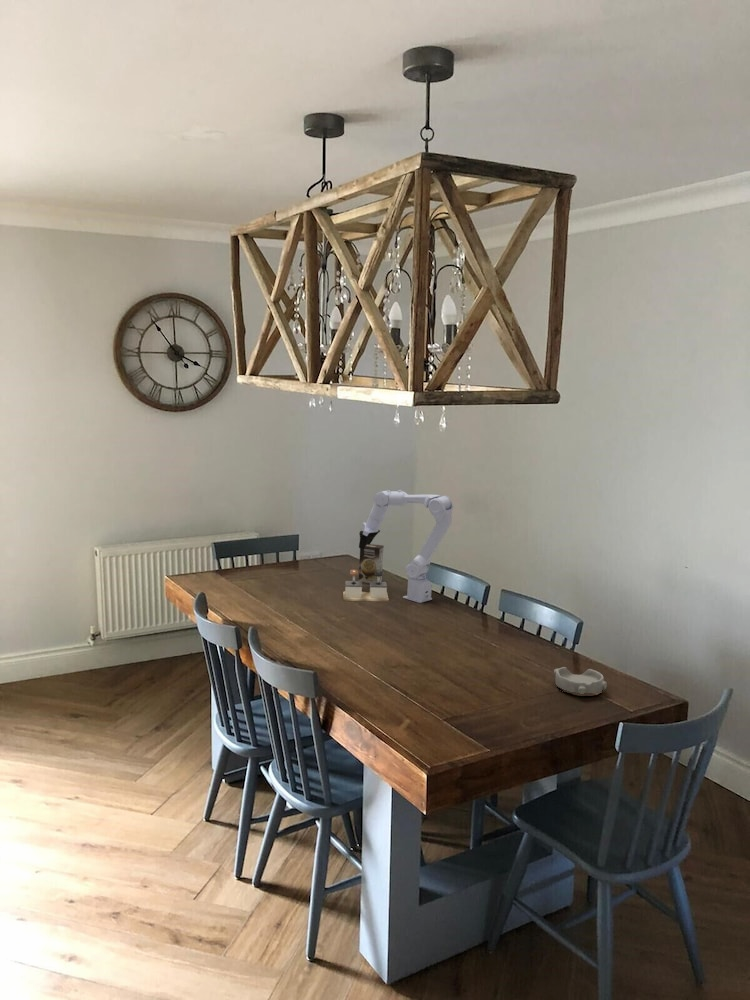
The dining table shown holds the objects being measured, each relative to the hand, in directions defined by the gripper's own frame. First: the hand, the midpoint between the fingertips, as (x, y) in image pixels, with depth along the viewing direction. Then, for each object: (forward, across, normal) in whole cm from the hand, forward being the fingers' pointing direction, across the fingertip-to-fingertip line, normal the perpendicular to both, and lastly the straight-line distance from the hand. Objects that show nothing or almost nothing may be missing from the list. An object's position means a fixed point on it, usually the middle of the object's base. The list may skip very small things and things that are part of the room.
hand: (364, 545), depth 338 cm
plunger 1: (+12, +15, +5) cm, 19 cm away
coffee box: (+18, -11, +6) cm, 22 cm away
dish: (-21, +76, +93) cm, 122 cm away
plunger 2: (+8, +11, +14) cm, 20 cm away
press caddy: (+14, +13, +11) cm, 23 cm away
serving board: (+14, +13, +11) cm, 23 cm away
